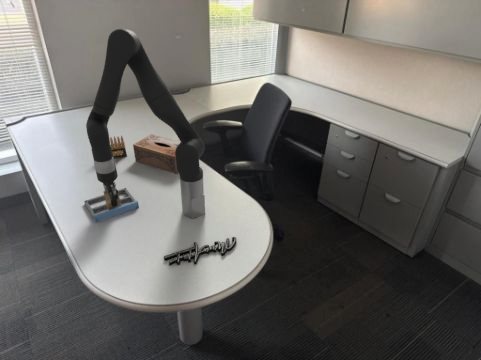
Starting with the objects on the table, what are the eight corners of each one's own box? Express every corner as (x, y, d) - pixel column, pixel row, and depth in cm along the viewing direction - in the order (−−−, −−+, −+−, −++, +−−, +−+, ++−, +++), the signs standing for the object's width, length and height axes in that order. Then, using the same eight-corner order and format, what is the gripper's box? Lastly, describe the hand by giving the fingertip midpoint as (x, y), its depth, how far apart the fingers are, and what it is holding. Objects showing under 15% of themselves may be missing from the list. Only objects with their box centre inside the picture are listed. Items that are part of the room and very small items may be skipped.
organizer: (138, 207, 144) (138, 201, 142) (95, 222, 135) (94, 216, 133) (126, 190, 154) (125, 185, 152) (85, 203, 145) (83, 198, 143)
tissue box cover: (192, 161, 178) (191, 144, 173) (176, 174, 167) (174, 156, 162) (153, 150, 187) (151, 134, 182) (135, 161, 177) (132, 144, 171)
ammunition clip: (126, 154, 182) (123, 134, 176) (127, 156, 181) (123, 136, 174) (105, 157, 179) (101, 137, 172) (105, 159, 177) (101, 138, 171)
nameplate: (231, 230, 132) (242, 247, 124) (230, 233, 132) (242, 250, 125) (161, 252, 121) (169, 271, 113) (162, 255, 122) (170, 274, 114)
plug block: (121, 206, 142) (118, 191, 137) (109, 210, 139) (105, 195, 135) (118, 203, 144) (115, 187, 139) (106, 207, 141) (103, 191, 137)
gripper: (121, 173, 128) (128, 209, 138) (109, 158, 138) (116, 192, 147) (101, 179, 124) (109, 215, 134) (90, 163, 134) (99, 198, 143)
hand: (113, 203), depth 140 cm, fingers closed on plug block, 3 cm apart
